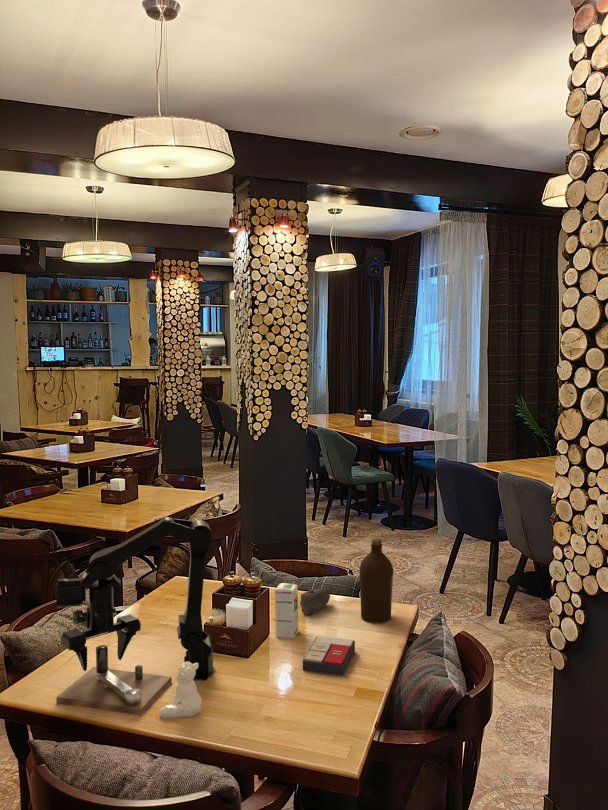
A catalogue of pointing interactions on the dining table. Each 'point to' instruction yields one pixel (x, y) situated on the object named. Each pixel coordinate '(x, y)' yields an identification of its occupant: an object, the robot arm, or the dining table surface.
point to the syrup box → (286, 610)
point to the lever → (114, 678)
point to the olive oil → (376, 585)
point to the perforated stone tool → (314, 600)
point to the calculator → (329, 655)
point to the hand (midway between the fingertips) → (102, 664)
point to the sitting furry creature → (184, 695)
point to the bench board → (103, 697)
